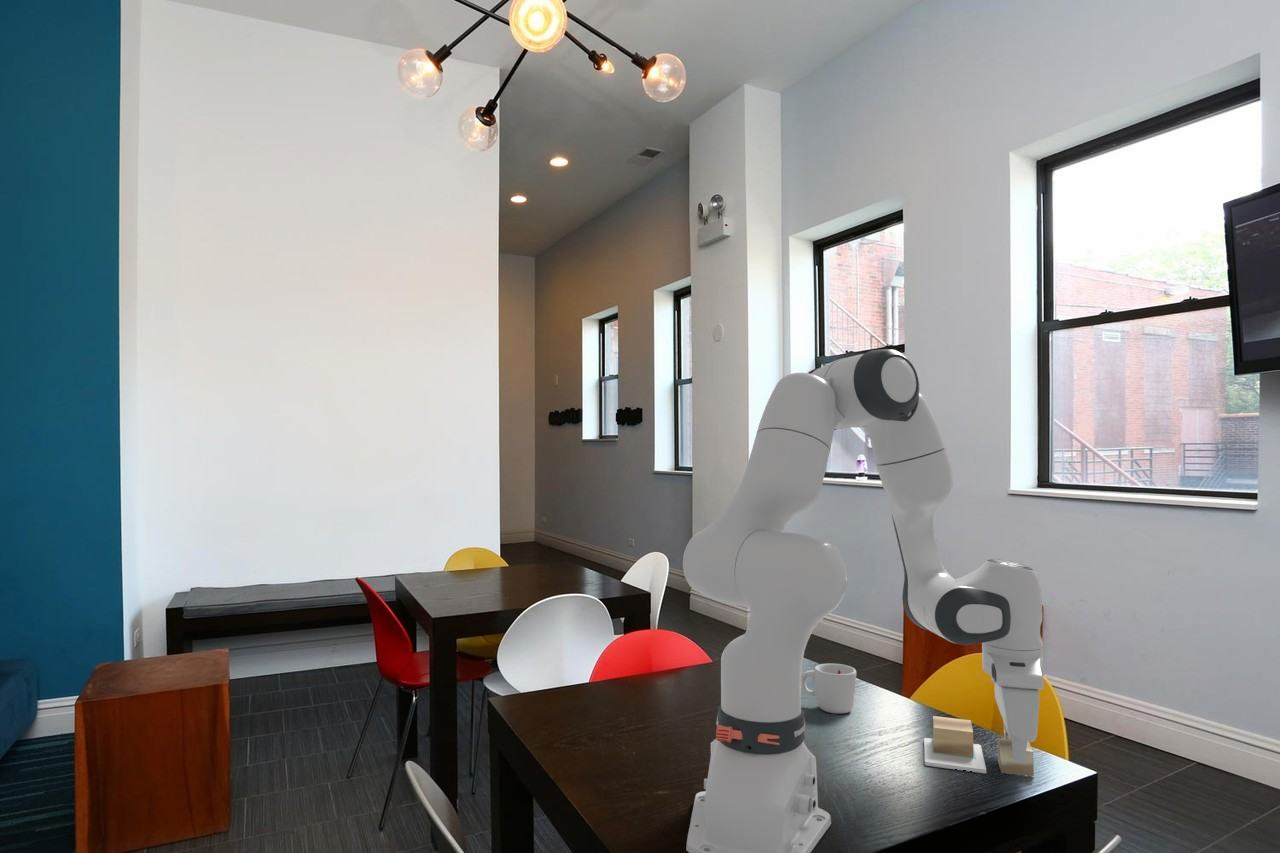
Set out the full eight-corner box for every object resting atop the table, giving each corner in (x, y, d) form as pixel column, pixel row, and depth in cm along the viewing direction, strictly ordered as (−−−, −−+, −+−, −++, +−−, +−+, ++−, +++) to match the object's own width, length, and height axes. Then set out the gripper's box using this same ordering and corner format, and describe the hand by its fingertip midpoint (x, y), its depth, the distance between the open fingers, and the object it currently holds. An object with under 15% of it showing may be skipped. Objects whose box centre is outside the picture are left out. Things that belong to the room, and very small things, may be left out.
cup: (795, 710, 146) (795, 669, 146) (806, 698, 153) (806, 659, 153) (851, 719, 141) (851, 676, 141) (860, 707, 148) (860, 666, 148)
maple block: (1033, 777, 116) (1033, 751, 116) (1001, 773, 117) (1001, 747, 117) (1029, 766, 120) (1028, 741, 120) (998, 762, 121) (997, 737, 122)
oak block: (973, 757, 122) (973, 732, 122) (934, 752, 124) (933, 727, 124) (971, 744, 127) (970, 720, 127) (933, 739, 129) (933, 716, 129)
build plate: (986, 773, 117) (986, 769, 117) (924, 765, 120) (924, 761, 120) (980, 748, 127) (980, 744, 127) (924, 741, 130) (924, 737, 130)
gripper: (984, 644, 131) (986, 724, 130) (998, 677, 111) (1000, 772, 111) (1024, 647, 128) (1026, 729, 128) (1045, 682, 109) (1048, 778, 109)
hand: (1014, 749), depth 119 cm, fingers open, 8 cm apart
